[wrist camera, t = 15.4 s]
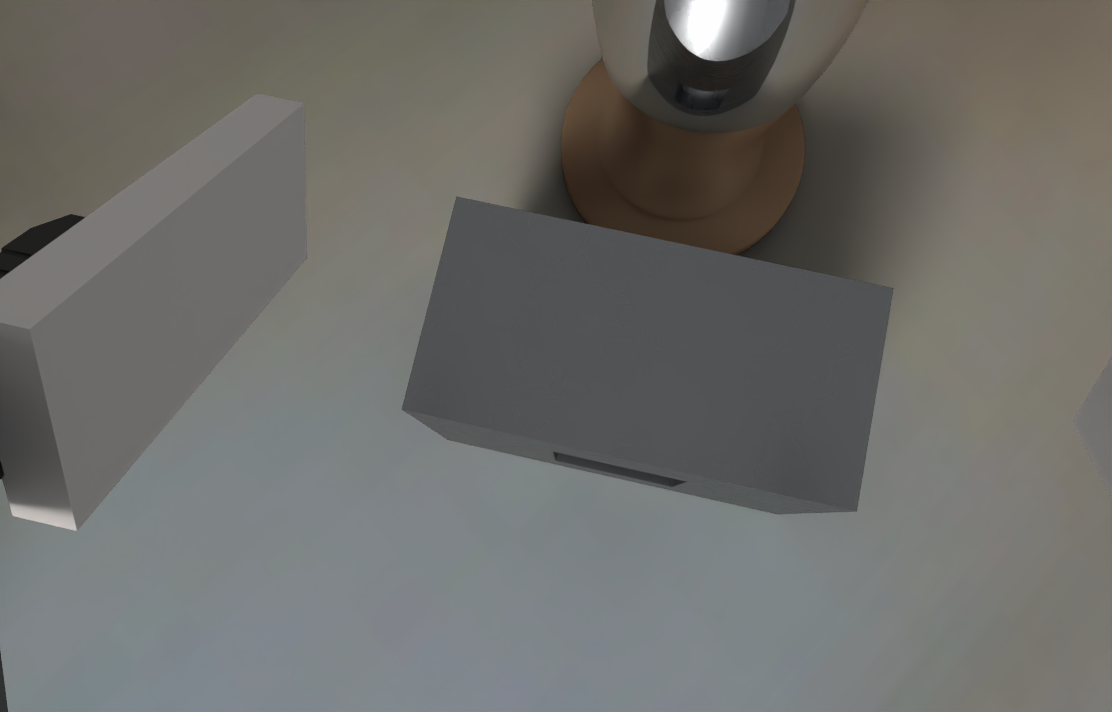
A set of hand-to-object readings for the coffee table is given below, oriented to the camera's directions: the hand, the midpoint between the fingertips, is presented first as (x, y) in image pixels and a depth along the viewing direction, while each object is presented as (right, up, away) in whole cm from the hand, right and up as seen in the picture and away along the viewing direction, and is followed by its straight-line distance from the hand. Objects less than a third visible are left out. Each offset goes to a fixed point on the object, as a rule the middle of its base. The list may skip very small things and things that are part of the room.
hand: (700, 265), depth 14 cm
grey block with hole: (0, -3, +19) cm, 19 cm away
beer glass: (+2, +6, +19) cm, 20 cm away
